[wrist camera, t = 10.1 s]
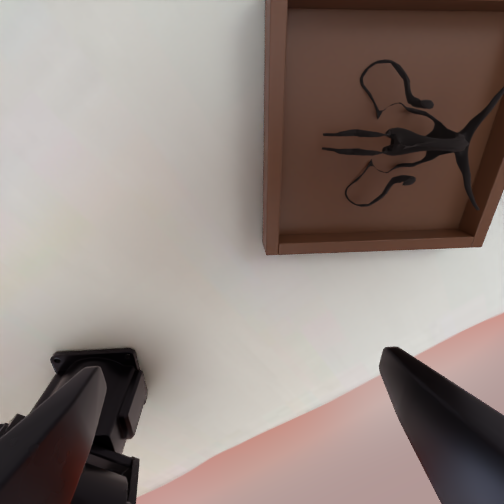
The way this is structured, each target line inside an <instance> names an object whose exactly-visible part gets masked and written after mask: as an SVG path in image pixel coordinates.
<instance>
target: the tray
mask: <svg viewBox="0 0 504 504" xmlns="http://www.w3.org/2000/svg"><path fill="white" fill-rule="evenodd" d="M384 59H387V60H392V61H394V62H396V63H397V64H399V65H400V66H401V67H402V68H403V70H404V71H405V72H406V74H407V75H408V77H409V79H410V88H411V92H412V95H413V96H414V97H416V98H419V99H420V100H431V101H432V102H433V103H434V106H433V108H431V109H424V108H416V107H413V106H412V105H411V104H408V103H407V99H406V95H405V88H404V81H403V79H402V78H401V76H400V75H399V74H398V72H397V71H396V70H395V68H394V67H393V66H392V64H391V63H381V64H375V65H374V66H372V67H371V68H369V69H368V71H367V72H366V74H365V75H364V77H363V83H364V85H365V87H366V88H367V89H368V90H369V92H370V93H371V95H372V97H373V99H374V101H375V103H376V105H377V107H378V109H379V111H380V110H384V109H385V110H384V111H383V112H382V113H381V115H380V117H379V119H377V113H376V109H375V106H374V103H373V101H372V100H371V98H370V97H369V96H368V94H367V93H366V91H365V90H364V89H363V87H362V86H361V83H360V77H361V75H362V73H363V72H364V70H365V69H366V68H367V67H368V66H369V65H371V64H372V63H374V62H375V61H378V60H384ZM503 87H504V0H265V72H264V161H263V245H264V249H265V253H266V255H286V254H312V253H338V252H365V251H391V250H417V249H443V248H469V247H482V244H483V242H484V239H485V237H486V234H487V231H488V229H489V226H490V224H491V221H492V218H493V216H494V213H495V211H496V208H497V206H498V203H499V200H500V198H501V195H502V193H503V190H504V94H503V95H502V96H501V98H500V99H499V101H498V102H497V104H496V105H495V107H494V108H493V109H492V111H491V112H490V113H489V114H488V115H487V117H486V118H485V119H484V120H483V121H482V122H481V124H480V125H479V126H478V128H477V129H476V131H475V132H474V134H473V136H472V138H471V141H470V145H469V150H468V160H469V167H470V172H471V189H472V193H473V196H474V199H475V201H476V204H477V206H478V208H479V209H480V210H476V209H475V208H474V206H473V205H472V203H471V201H470V199H469V197H468V195H467V193H466V190H465V187H464V181H463V175H462V173H461V171H460V169H459V167H458V165H457V162H456V158H455V154H454V153H449V154H444V155H439V156H438V157H436V158H435V159H433V160H430V161H427V162H424V163H421V164H418V165H416V166H414V167H400V168H396V169H393V170H392V171H390V170H391V169H392V168H394V167H395V166H396V165H398V164H401V163H414V162H417V161H420V160H422V159H423V158H424V157H425V155H426V151H420V152H413V153H408V154H403V155H396V156H391V155H386V154H383V153H382V154H378V155H374V156H361V155H345V154H338V153H336V152H334V151H327V150H322V147H326V148H335V149H352V148H360V149H365V150H374V151H380V152H382V149H383V147H386V146H389V145H390V143H391V138H389V137H386V136H381V137H358V136H346V137H345V136H323V133H338V132H341V131H347V130H351V129H360V130H366V131H373V132H379V133H383V134H385V132H386V131H387V130H388V129H391V128H397V127H399V128H404V129H407V130H410V131H412V132H414V133H417V134H419V135H423V136H426V135H427V134H429V133H430V132H431V131H432V130H433V128H434V122H433V120H431V119H430V118H428V117H427V116H423V115H418V114H413V113H411V112H409V111H407V110H406V109H405V108H404V107H403V106H402V104H404V105H405V106H406V107H410V108H414V109H419V110H422V111H426V112H427V113H429V114H430V115H432V116H433V117H435V118H436V119H437V120H439V121H440V122H442V124H443V125H444V126H445V127H446V128H447V129H450V130H452V131H454V132H457V133H458V132H459V131H461V130H462V129H463V128H464V127H465V126H466V125H467V124H468V122H469V121H470V120H471V119H472V118H474V117H475V116H476V115H478V114H479V113H480V112H481V111H482V110H483V109H484V108H485V107H486V106H487V105H488V104H489V103H490V101H491V100H492V99H493V97H494V96H495V95H496V94H497V93H498V92H499V91H500V90H501V89H502V88H503ZM399 102H401V103H402V104H399ZM395 103H397V104H395ZM392 104H394V105H392ZM390 105H391V106H390ZM388 106H389V107H388ZM371 159H372V162H373V165H374V166H375V167H374V166H370V167H369V168H368V169H367V170H366V172H365V173H364V174H363V175H362V176H361V178H360V179H359V180H358V181H357V182H355V183H353V184H352V185H351V186H350V187H348V186H349V185H350V184H351V183H352V182H353V181H354V180H356V179H357V178H358V177H359V176H360V175H361V174H362V173H363V172H364V170H365V169H366V167H367V166H368V164H369V162H370V160H371ZM377 169H378V170H380V171H383V172H388V171H390V172H389V173H383V172H380V171H378V170H377ZM399 175H410V176H414V177H415V178H416V181H415V182H414V183H413V184H412V185H408V186H404V185H402V184H403V182H401V183H395V184H394V185H393V186H392V187H391V188H390V189H389V191H388V193H387V194H386V195H385V196H384V197H383V198H382V199H380V200H379V201H377V202H375V203H374V204H372V205H370V206H367V207H360V206H356V205H354V204H352V203H351V202H350V201H348V199H347V198H346V196H345V190H346V188H347V187H348V189H347V196H348V198H349V199H350V200H351V201H352V202H354V203H355V204H369V203H370V202H372V201H373V200H374V199H376V198H377V197H378V196H379V195H380V194H382V192H383V190H384V189H385V187H386V185H387V184H388V182H389V181H390V180H391V178H392V177H395V176H399Z"/></svg>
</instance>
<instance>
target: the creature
mask: <svg viewBox="0 0 504 504" xmlns="http://www.w3.org/2000/svg"><path fill="white" fill-rule="evenodd" d="M381 63H391V64H392V66H393V67H394V68H395V70H396V71H397V72H398V74H399V75H400V76H401V78H402V79H403V81H404V88H405V95H406V99H407V103H408V104H411V105H412V106H413V107H416V108H424V109H431V108H433V106H434V103H433V102H432V101H431V100H420V99H419V98H416V97H414V96H413V95H412V92H411V88H410V79H409V77H408V75H407V74H406V72H405V71H404V70H403V68H402V67H401V66H400V65H399V64H397V63H396V62H394V61H392V60H387V59H384V60H378V61H375V62H374V63H372V64H371V65H369V66H368V67H367V68H366V69H365V70H364V72H363V73H362V75H361V77H360V83H361V86H362V87H363V89H364V90H365V91H366V93H367V94H368V96H369V97H370V98H371V100H372V101H373V103H374V106H375V109H376V113H377V119H379V117H380V115H381V113H382V112H383V111H384V110H385V109H384V110H380V111H379V109H378V107H377V105H376V103H375V101H374V99H373V97H372V95H371V93H370V92H369V90H368V89H367V88H366V87H365V85H364V83H363V77H364V75H365V74H366V72H367V71H368V69H369V68H371V67H372V66H374V65H375V64H381ZM503 94H504V87H503V88H502V89H501V90H500V91H499V92H498V93H497V94H496V95H495V96H494V97H493V99H492V100H491V101H490V103H489V104H488V105H487V106H486V107H485V108H484V109H483V110H482V111H481V112H480V113H479V114H478V115H476V116H475V117H474V118H472V119H471V120H470V121H469V122H468V124H467V125H466V126H465V127H464V128H463V129H462V130H461V131H459V132H458V133H457V132H454V131H452V130H450V129H447V128H446V127H445V126H444V125H443V124H442V122H440V121H439V120H437V119H436V118H435V117H433V116H432V115H430V114H429V113H427V112H426V111H422V110H419V109H414V108H410V107H406V106H405V105H404V104H402V103H401V102H399V104H402V106H403V107H404V108H405V109H406V110H407V111H409V112H411V113H413V114H418V115H423V116H427V117H428V118H430V119H431V120H433V122H434V128H433V130H432V131H431V132H430V133H429V134H427V135H426V136H423V135H419V134H417V133H414V132H412V131H410V130H407V129H404V128H399V127H397V128H391V129H388V130H387V131H386V132H385V134H383V133H379V132H373V131H366V130H360V129H351V130H347V131H341V132H338V133H323V136H345V137H346V136H358V137H381V136H386V137H389V138H391V143H390V145H389V146H386V147H383V149H382V152H380V151H374V150H365V149H360V148H352V149H335V148H326V147H322V150H327V151H334V152H336V153H338V154H345V155H361V156H374V155H378V154H382V153H383V154H386V155H391V156H396V155H403V154H408V153H413V152H420V151H426V155H425V157H424V158H423V159H422V160H420V161H417V162H414V163H401V164H398V165H396V166H395V167H394V168H392V169H391V170H390V171H392V170H393V169H396V168H400V167H414V166H416V165H418V164H421V163H424V162H427V161H430V160H433V159H435V158H436V157H438V156H439V155H444V154H449V153H454V154H455V158H456V162H457V165H458V167H459V169H460V171H461V173H462V175H463V181H464V187H465V190H466V193H467V195H468V197H469V199H470V201H471V203H472V205H473V206H474V208H475V209H476V210H480V209H479V208H478V206H477V204H476V201H475V199H474V196H473V193H472V189H471V172H470V167H469V160H468V150H469V145H470V141H471V138H472V136H473V134H474V132H475V131H476V129H477V128H478V126H479V125H480V124H481V122H482V121H483V120H484V119H485V118H486V117H487V115H488V114H489V113H490V112H491V111H492V109H493V108H494V107H495V105H496V104H497V102H498V101H499V99H500V98H501V96H502V95H503ZM395 104H397V103H395ZM392 105H394V104H392ZM390 106H391V105H390ZM388 107H389V106H388ZM370 166H374V165H373V162H372V159H371V160H370V162H369V164H368V166H367V167H366V169H365V170H364V172H363V173H362V174H361V175H360V176H359V177H358V178H357V179H356V180H354V181H353V182H352V183H351V184H350V185H349V186H348V187H350V186H351V185H352V184H353V183H355V182H357V181H358V180H359V179H360V178H361V176H362V175H363V174H364V173H365V172H366V170H367V169H368V168H369V167H370ZM374 167H375V166H374ZM377 170H378V169H377ZM378 171H380V170H378ZM390 171H388V172H383V171H380V172H383V173H389V172H390ZM415 181H416V178H415V177H414V176H410V175H399V176H395V177H392V178H391V180H390V181H389V182H388V184H387V185H386V187H385V189H384V190H383V192H382V194H380V195H379V196H378V197H377V198H376V199H374V200H373V201H372V202H370V203H369V204H355V203H354V202H352V201H351V200H350V199H349V198H348V196H347V189H348V187H347V188H346V190H345V196H346V198H347V199H348V201H350V202H351V203H352V204H354V205H356V206H360V207H367V206H370V205H372V204H374V203H375V202H377V201H379V200H380V199H382V198H383V197H384V196H385V195H386V194H387V193H388V191H389V189H390V188H391V187H392V186H393V185H394V184H395V183H401V182H403V184H402V185H404V186H408V185H412V184H413V183H414V182H415Z"/></svg>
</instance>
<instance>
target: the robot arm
mask: <svg viewBox="0 0 504 504" xmlns="http://www.w3.org/2000/svg"><path fill="white" fill-rule="evenodd" d="M127 354H129V355H127ZM50 360H51V363H52V365H53V368H54V370H55V372H56V375H55V376H54V378H53V379H52V381H51V382H50V384H49V385H48V387H47V388H46V390H45V391H44V393H43V394H42V396H41V397H40V399H39V400H38V402H37V403H36V405H35V406H34V408H33V409H32V411H31V412H30V414H29V415H27V416H23V415H20V414H16V416H15V417H14V418H13V419H12V420H11V422H10V423H9V424H7V423H5V424H0V504H136V495H137V484H138V472H139V459H138V458H135V457H133V456H132V457H128V456H126V455H123V454H122V452H123V449H124V446H125V443H126V439H131V438H132V437H133V436H134V435H135V432H136V429H137V425H138V422H139V418H140V415H141V412H142V408H143V405H144V404H145V403H146V400H147V396H146V395H147V387H146V383H145V379H144V375H143V372H142V371H141V370H140V368H139V364H138V360H137V356H136V353H135V351H134V350H133V349H131V348H124V349H106V350H89V351H71V352H57V353H54V354H53V356H52V357H51V359H50ZM379 370H380V374H381V376H382V379H383V381H384V384H385V387H386V389H387V391H388V394H389V397H390V399H391V402H392V404H393V407H394V409H395V412H396V414H397V416H398V419H399V421H400V423H401V425H402V427H403V429H404V431H405V433H406V435H407V437H408V439H409V441H410V443H411V445H412V447H413V449H414V451H415V452H416V455H417V456H418V458H419V460H420V462H421V464H422V466H423V468H424V470H425V472H426V474H427V476H428V478H429V480H430V482H431V484H432V486H433V488H434V490H435V492H436V494H437V496H438V498H439V500H440V502H441V503H442V504H504V415H502V414H501V413H499V412H498V411H496V410H495V409H493V408H491V407H490V406H489V405H487V404H485V403H484V402H482V401H481V400H479V399H478V398H476V397H475V396H473V395H472V394H470V393H468V392H467V391H465V390H464V389H462V388H460V387H459V386H458V385H456V384H455V383H453V382H451V381H450V380H448V379H447V378H445V377H444V376H442V375H441V374H439V373H437V372H436V371H434V370H433V369H431V368H430V367H428V366H427V365H425V364H424V363H422V362H421V361H419V360H417V359H416V358H414V357H413V356H411V355H410V354H408V353H407V352H405V351H404V350H402V349H400V348H399V347H385V348H384V349H383V352H382V356H381V360H380V364H379Z"/></svg>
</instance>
